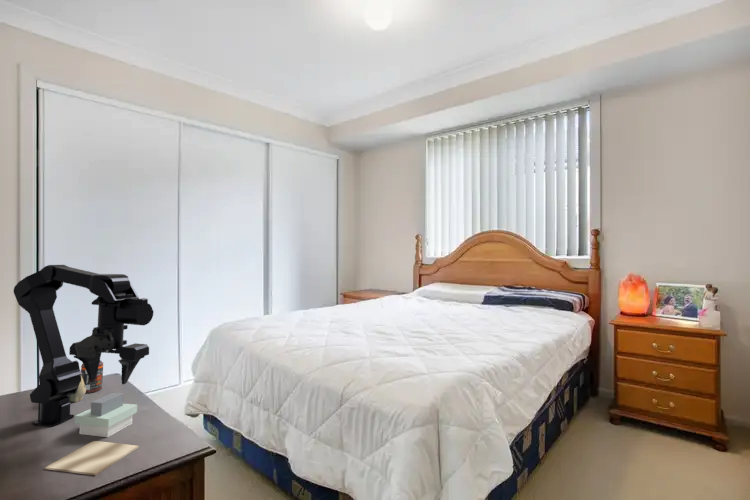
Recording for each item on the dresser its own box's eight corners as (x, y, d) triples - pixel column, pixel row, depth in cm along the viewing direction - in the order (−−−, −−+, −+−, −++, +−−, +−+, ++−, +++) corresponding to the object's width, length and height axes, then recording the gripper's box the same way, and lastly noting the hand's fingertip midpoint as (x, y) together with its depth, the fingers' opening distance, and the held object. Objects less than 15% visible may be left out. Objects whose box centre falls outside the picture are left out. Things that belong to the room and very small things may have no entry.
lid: (74, 423, 98) (75, 402, 98) (105, 409, 107) (106, 390, 107) (108, 427, 96) (109, 406, 96) (137, 412, 106) (137, 392, 106)
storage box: (79, 433, 98) (80, 418, 98) (105, 420, 106) (106, 406, 106) (107, 437, 97) (108, 420, 97) (132, 423, 105) (132, 408, 105)
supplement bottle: (90, 394, 125) (91, 358, 125) (75, 392, 126) (76, 357, 126) (106, 388, 131) (108, 354, 131) (91, 386, 132) (93, 352, 132)
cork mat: (45, 469, 82) (45, 467, 82) (93, 442, 94) (93, 440, 94) (95, 475, 81) (95, 473, 81) (138, 447, 92) (138, 445, 92)
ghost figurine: (59, 400, 119) (60, 374, 119) (78, 395, 124) (79, 370, 124) (69, 404, 116) (71, 377, 116) (89, 398, 121) (90, 373, 121)
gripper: (50, 325, 95) (47, 389, 95) (118, 330, 93) (115, 396, 92) (89, 318, 106) (86, 375, 106) (151, 322, 104) (149, 381, 103)
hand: (108, 382), depth 102 cm, fingers open, 9 cm apart
